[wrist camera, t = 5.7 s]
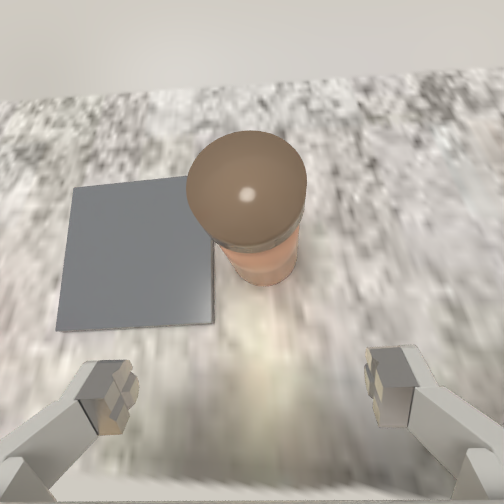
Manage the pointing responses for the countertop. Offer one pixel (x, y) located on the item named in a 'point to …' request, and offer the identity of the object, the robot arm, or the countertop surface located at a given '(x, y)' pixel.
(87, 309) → the pad
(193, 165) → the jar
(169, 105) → the countertop surface
